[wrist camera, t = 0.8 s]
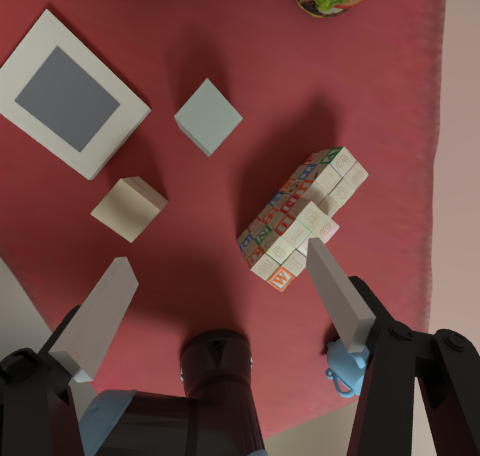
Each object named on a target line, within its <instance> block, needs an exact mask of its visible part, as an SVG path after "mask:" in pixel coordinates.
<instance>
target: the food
mask: <svg viewBox="0 0 480 456" xmlns="http://www.w3.org/2000/svg"><path fill="white" fill-rule="evenodd" d="M295 1H296V3H297V4H298V6H299V7H300V8H301V9H302V10H304V11H305V12H307V13H308V14H310V15H311V16H313V17H326V18H330V17H333V16H338V15H340V14H341V13H343V12H345V11H347V10H348V9H349V8H350V7H353V6H356V5H358V4H359V3H360V2H361V1H362V0H295Z"/></svg>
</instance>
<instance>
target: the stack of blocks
mask: <svg viewBox="0 0 480 456" xmlns="http://www.w3.org/2000/svg"><path fill="white" fill-rule="evenodd" d="M368 175H369V174H368V173H367V172H366V171H365V170H364V168H363V167H362V166H361V165H360V164H359V162H358V161H356V160H355V158H354V157H353V156H352V155H351V154H350V153H349V151H348V150H347V149H346V148H345V147H344V146H342V147H336V148H331V149H327V150H321V151H316V152H312V153H311V154H310V155H309V157H308V158H307V159H306V160H305V161H304V163H303V164H302V165H301V166H300V167H299V168H298V169H297V170H296V171H295V172H294V174H293V175H292V176H291V177H290V178H289V179H288V180H287V182H286V183H285V184H284V185H283V186H282V187H281V189H280V190H279V192H278V193H277V194H276V195H275V196H274V197H273V199H272V200H271V201H270V202H269V203H268V205H267V206H266V207H265V208H264V209H263V210H262V212H261V213H260V214H259V215H258V216H257V217H256V218H255V219H254V220H253V222H252V223H251V224H250V225H249V226H248V227H247V229H245V231H244V232H243V233H242V234H241V235H240V236H239V238H238V239H237V240H236V241H237V243H238V245H239V247H240V249H241V252H242V255H243V257H244V259H245V261H246V262H247V263H248V266H249V268H250V270H251V271H253V272H254V273H256V274H257V275H258V276H260V277H261V278H262V279H264V280H265V281H267V282H268V283H269V284H271V285H272V286H273V287H275V288H276V289H278V290H279V291H281V292H282V291H283V290H284V289H285V288H286V287H287V286H288V284H289V283H290V282H291V281H292V280H293V279H294V278H295V276H298V275H299V274H300V272H301V271H302V270H303V269H304V268H305V267H306V258H307V248H308V239H309V238H316V237H319V238H320V239H321V241H322V242H323V243H324V245H325V243H326V242H327V241H328V240H329V239H330V238H331V237H332V235H333V234H334V233H335V232H336V231H337V230H338V229H339V226H338V225H337V224H336V223H335V222H334V221H333V220H332V219H331V217H332V216H333V215H334V214H335V213H336V212H337V210H338V209H339V208H340V207H342V205H343V204H344V203H345V202H346V201H347V200H348V199H349V198H350V196H351V195H352V194H353V193H354V192H355V190H356V189H357V188H358V187H359V186H360V184H361V183H362V182H363V181H364V180H365V179H366V178H367V177H368Z"/></svg>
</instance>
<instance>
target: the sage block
mask: <svg viewBox="0 0 480 456" xmlns="http://www.w3.org/2000/svg"><path fill="white" fill-rule="evenodd" d="M174 118H175V120H176V122H177V124H178V126H179V128H180V129H181V130H182V131H183V132H184V133H185V134H186V135H187V136H188V137H189V138H190V139H191V140H192V141H193V142H194V143H195V144H196V145H197V146H198V147H199V148H200V149H201V150H202V151H203V152H204V153H205V154H206V155H207V156H208V157H209V156H210V155H211V154H212V153H213V152H214V151H215V150H216V149H217V148H218V146H219V145H220V144H221V143H222V142H223V141H224V140H225V139H226V137H227V136H228V135H229V134H230V133H231V132H232V131H233V130H234V128H235V127H236V126H237V125H238V124H239V123H240V121H241V120H242V119H243V118H242V117H241V116H240V115H239V113H238V112H237V111H236V110H235V109H234V108H233V107H232V105H231V104H230V103H229V102H228V101H227V100H226V99H225V98H224V96H223V95H222V94H221V93H220V92H219V91H218V90H217V88H216V87H215V86H214V85H213V84H212V83H211V82H210V81H209V79H208V78H207V79H206V80H205V81H204V82H203V84H202V85H201V86H200V87H199V88H198V89H197V91H196V92H195V93H194V94H193V95H192V96H191V97H190V99H189V100H188V101H187V102H186V103H185V104H184V106H183V107H182V108H181V109H180V110H179V111H178V113H177V114H176V115H175V116H174Z"/></svg>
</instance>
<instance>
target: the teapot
mask: <svg viewBox="0 0 480 456" xmlns="http://www.w3.org/2000/svg"><path fill="white" fill-rule="evenodd" d="M327 348H328V351H327V362H328V365H329V367H330V368H328V369H327V370H326V372H325V374H326V376H327V378H328V379H333V380H334V384H335V387H336V390H337V392H338V393H339V394H340V395H341V396H342V397H345V398H350V397H352V396H353V395H354V394H357V395H358V396H360V392H361V387H362V383H363V378H364V373H365V369H366V364H365V362H366V360H367V358H368V355H369V353H370V352H369V351H368V349H367V347H366V345H365V346H364V349H363V351H362V352H353V353H348V352H347V350H346V348H345V346H344V344H343V342H342V340H341V338H339V339H338V340H336V341H335V342H329V343H328V344H327ZM330 373H332V375H329V374H330ZM337 378H338V379H339V380H340V381H341V382H342V383H343V384H344V385H345V386H346V387H347V388H348V389H350V390H349V391H348V392H342V391H341V390H340V388H339V385H338V381H337Z"/></svg>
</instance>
